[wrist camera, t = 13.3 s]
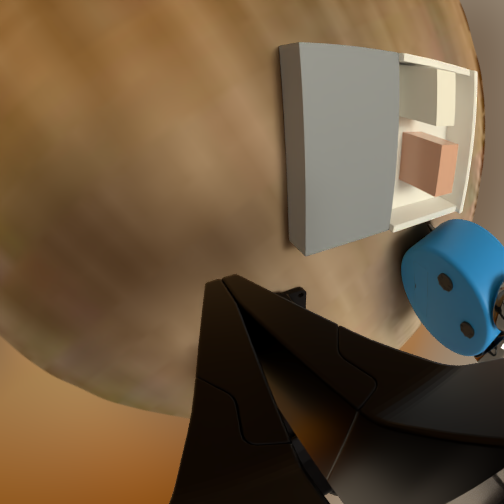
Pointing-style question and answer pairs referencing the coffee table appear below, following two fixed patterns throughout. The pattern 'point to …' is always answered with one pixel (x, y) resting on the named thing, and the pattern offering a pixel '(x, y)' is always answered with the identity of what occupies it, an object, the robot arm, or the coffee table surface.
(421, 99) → the cream block
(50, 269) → the coffee table surface
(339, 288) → the coffee table surface
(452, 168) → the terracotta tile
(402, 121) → the tray
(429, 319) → the alarm clock
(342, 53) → the slate plate
